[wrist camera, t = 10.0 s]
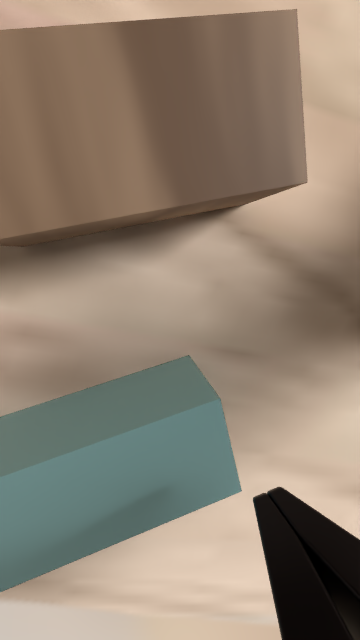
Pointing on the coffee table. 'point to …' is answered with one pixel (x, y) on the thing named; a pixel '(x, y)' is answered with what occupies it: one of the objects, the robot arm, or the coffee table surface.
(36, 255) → the coffee table surface
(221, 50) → the walnut block
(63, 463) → the teal block
